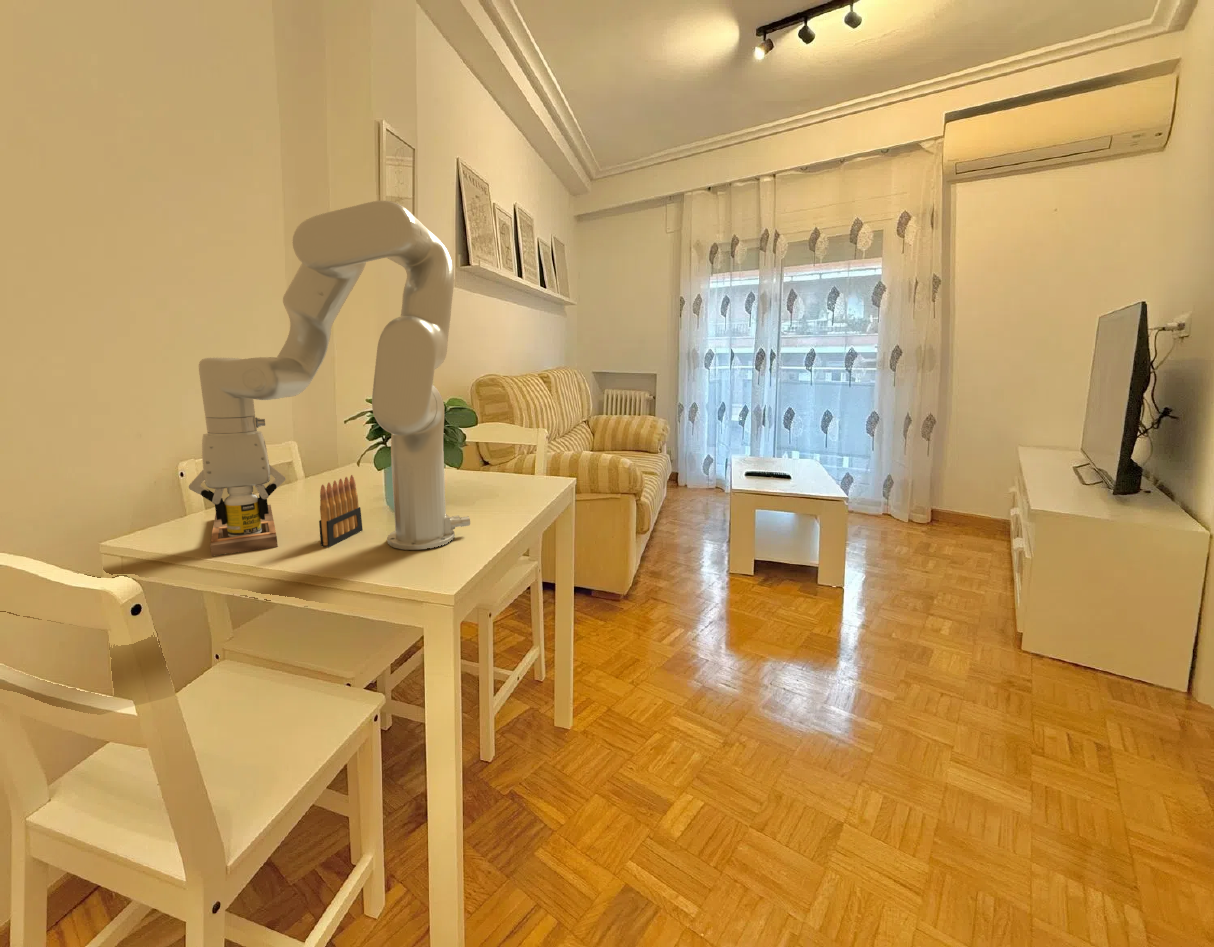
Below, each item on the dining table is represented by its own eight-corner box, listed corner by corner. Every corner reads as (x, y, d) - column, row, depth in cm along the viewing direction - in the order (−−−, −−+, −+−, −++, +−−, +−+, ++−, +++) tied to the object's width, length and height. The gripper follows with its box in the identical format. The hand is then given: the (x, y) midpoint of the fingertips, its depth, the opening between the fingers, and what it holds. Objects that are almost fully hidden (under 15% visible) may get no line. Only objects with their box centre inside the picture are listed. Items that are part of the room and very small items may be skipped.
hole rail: (271, 513, 120) (270, 503, 119) (277, 546, 99) (276, 535, 98) (217, 519, 114) (215, 509, 114) (211, 556, 93) (210, 544, 93)
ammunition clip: (329, 547, 99) (323, 485, 97) (320, 546, 99) (314, 485, 97) (362, 530, 110) (358, 474, 107) (354, 529, 110) (350, 473, 107)
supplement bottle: (245, 540, 98) (238, 489, 96) (221, 537, 99) (214, 487, 97) (269, 531, 103) (263, 482, 101) (245, 529, 104) (239, 481, 102)
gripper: (284, 422, 105) (294, 509, 108) (174, 426, 95) (188, 522, 99) (287, 426, 98) (297, 518, 102) (169, 430, 89) (185, 532, 93)
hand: (243, 519), depth 100 cm, fingers closed on supplement bottle, 5 cm apart
